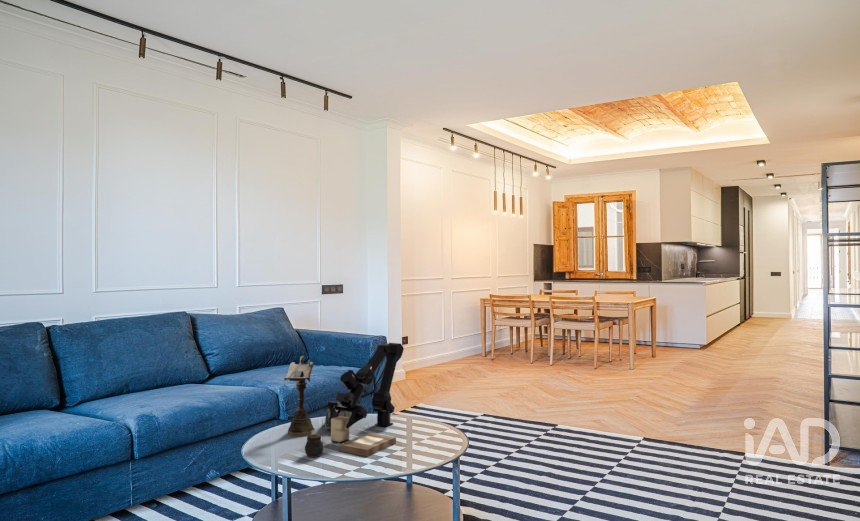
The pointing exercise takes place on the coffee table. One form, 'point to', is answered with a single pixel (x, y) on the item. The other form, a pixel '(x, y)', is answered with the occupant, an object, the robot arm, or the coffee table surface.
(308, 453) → the mate gourd
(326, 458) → the coffee table surface
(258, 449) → the coffee table surface
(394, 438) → the loading dock
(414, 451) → the coffee table surface
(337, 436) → the tan rectangular block
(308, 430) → the book stand
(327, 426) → the toy van
